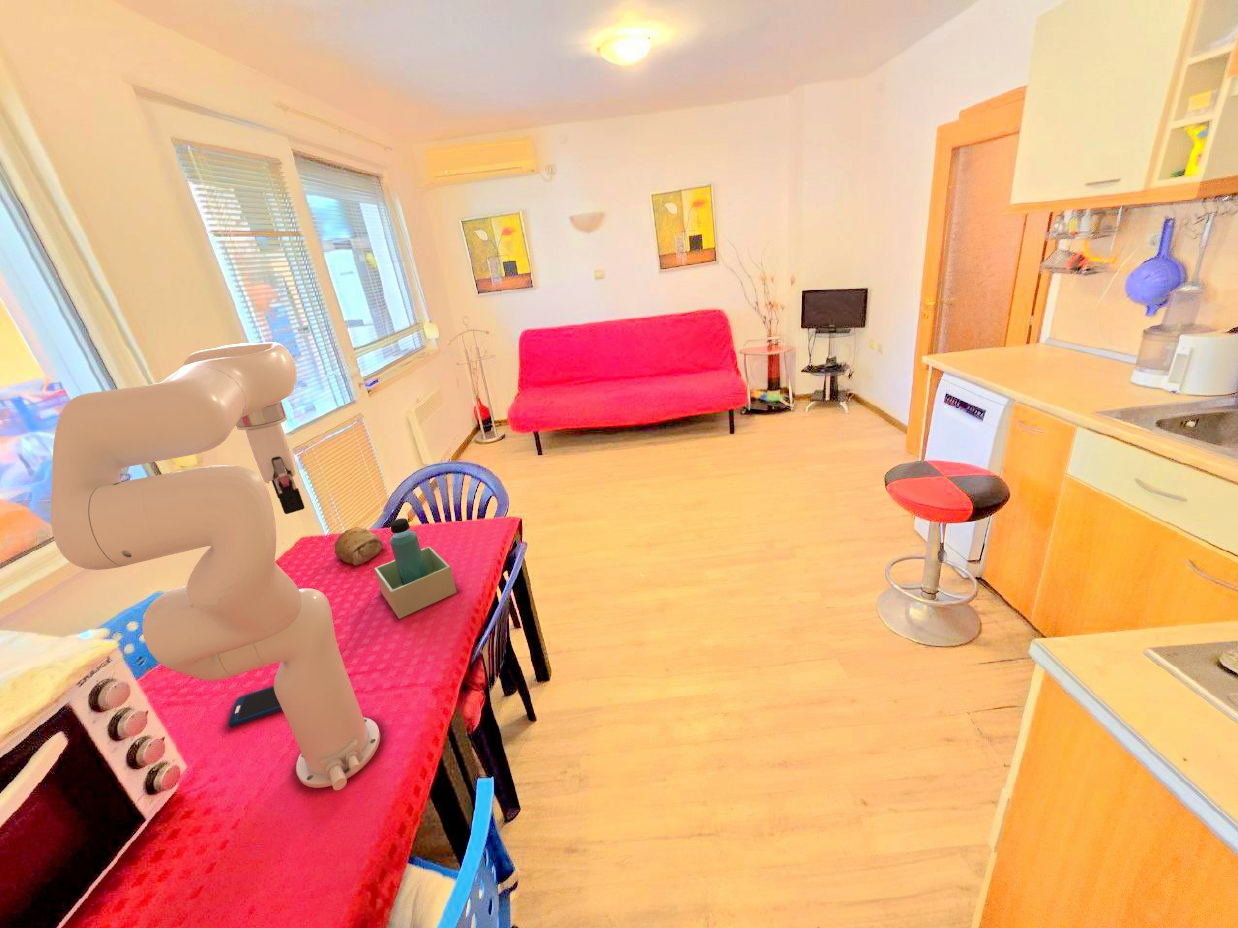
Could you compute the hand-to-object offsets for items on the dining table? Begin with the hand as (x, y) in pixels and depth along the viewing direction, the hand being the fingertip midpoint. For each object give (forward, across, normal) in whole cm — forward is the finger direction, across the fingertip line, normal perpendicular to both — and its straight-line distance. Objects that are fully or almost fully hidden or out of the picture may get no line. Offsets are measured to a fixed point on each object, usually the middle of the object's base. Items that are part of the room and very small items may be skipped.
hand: (291, 503), depth 95 cm
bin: (+36, -11, +20) cm, 42 cm away
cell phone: (+36, +4, -13) cm, 39 cm away
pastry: (+36, -44, +13) cm, 59 cm away
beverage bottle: (+36, -11, +20) cm, 42 cm away
